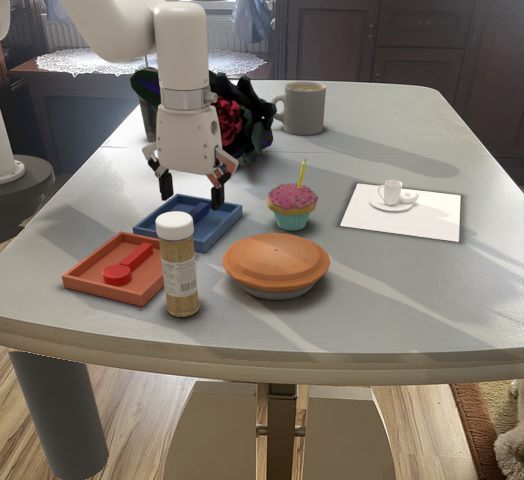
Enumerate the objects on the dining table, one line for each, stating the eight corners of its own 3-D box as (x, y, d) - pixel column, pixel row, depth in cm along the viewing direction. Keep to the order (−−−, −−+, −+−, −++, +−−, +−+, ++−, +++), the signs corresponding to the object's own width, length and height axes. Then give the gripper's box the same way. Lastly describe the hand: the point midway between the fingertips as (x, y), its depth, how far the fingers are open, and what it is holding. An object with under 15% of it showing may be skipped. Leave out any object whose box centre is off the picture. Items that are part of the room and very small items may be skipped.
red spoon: (138, 249, 87) (136, 240, 86) (160, 254, 86) (159, 245, 85) (98, 283, 79) (96, 273, 78) (122, 288, 78) (120, 279, 77)
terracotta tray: (64, 287, 79) (61, 275, 78) (122, 241, 90) (120, 231, 89) (142, 306, 75) (141, 295, 74) (194, 256, 86) (193, 245, 85)
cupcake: (320, 218, 97) (325, 150, 90) (308, 239, 91) (313, 168, 84) (274, 212, 100) (275, 145, 92) (259, 232, 93) (260, 162, 86)
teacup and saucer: (418, 199, 104) (422, 178, 102) (414, 216, 98) (419, 194, 96) (372, 193, 106) (374, 172, 104) (366, 210, 100) (368, 188, 98)
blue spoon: (195, 209, 99) (194, 200, 98) (215, 213, 98) (214, 204, 97) (165, 234, 91) (164, 225, 90) (186, 238, 90) (186, 230, 89)
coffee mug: (322, 123, 141) (325, 81, 135) (323, 135, 134) (326, 91, 127) (271, 121, 142) (271, 80, 136) (268, 134, 134) (269, 90, 128)
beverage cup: (177, 136, 133) (169, 42, 120) (164, 145, 127) (154, 49, 115) (149, 133, 134) (139, 40, 122) (135, 142, 129) (123, 46, 116)
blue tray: (133, 238, 91) (132, 227, 90) (177, 203, 102) (177, 193, 101) (204, 252, 87) (204, 242, 86) (242, 214, 98) (242, 204, 97)
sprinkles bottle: (194, 297, 77) (187, 207, 69) (204, 314, 74) (197, 222, 66) (162, 303, 76) (151, 213, 68) (170, 321, 73) (159, 228, 64)
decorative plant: (270, 195, 128) (205, 209, 103) (187, 132, 132) (104, 131, 106) (317, 112, 118) (258, 106, 92) (225, 47, 121) (144, 23, 96)
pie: (320, 253, 87) (323, 224, 84) (335, 308, 75) (338, 277, 72) (224, 255, 87) (222, 226, 84) (222, 310, 75) (221, 279, 72)
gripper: (246, 98, 84) (246, 203, 95) (149, 85, 89) (159, 186, 100) (226, 110, 79) (228, 220, 90) (123, 96, 84) (137, 202, 95)
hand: (192, 202), depth 95 cm, fingers open, 9 cm apart
